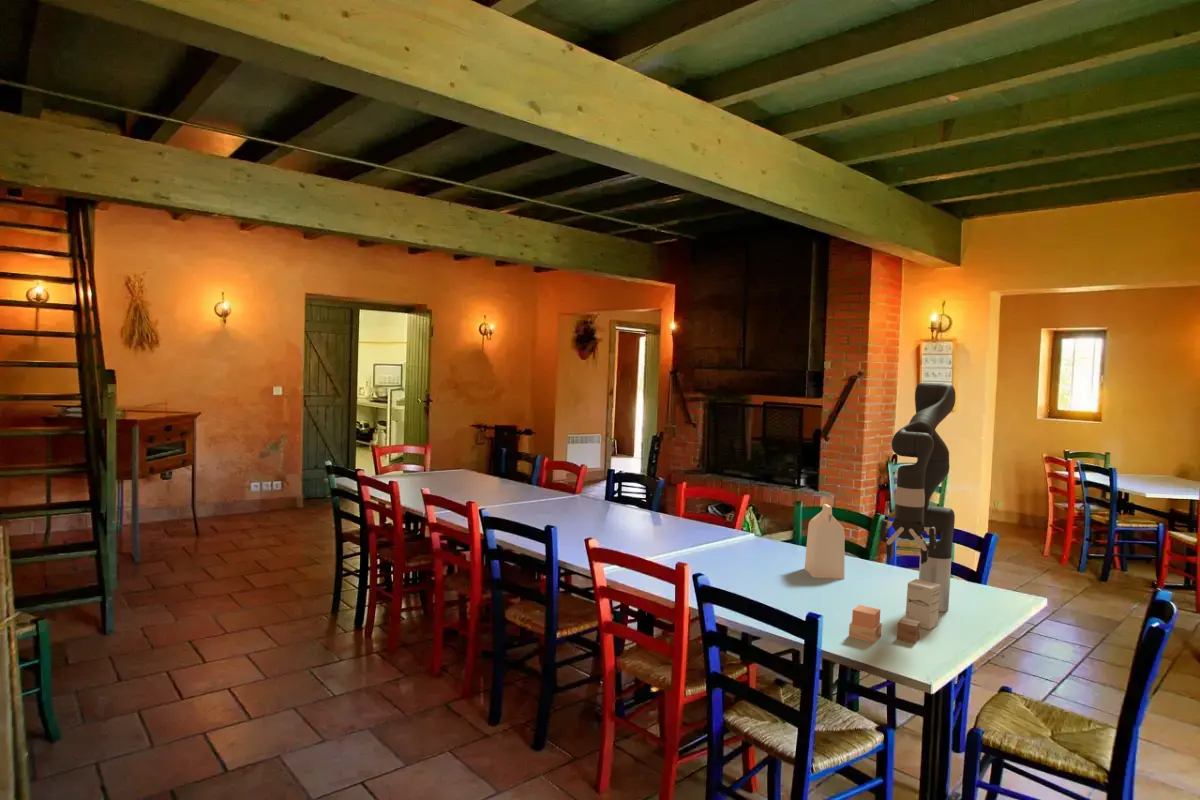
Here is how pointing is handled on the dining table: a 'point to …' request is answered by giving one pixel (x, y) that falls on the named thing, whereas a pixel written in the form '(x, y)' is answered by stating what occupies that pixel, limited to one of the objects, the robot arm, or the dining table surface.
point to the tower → (866, 616)
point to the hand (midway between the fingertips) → (906, 560)
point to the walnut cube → (908, 630)
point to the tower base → (865, 632)
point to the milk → (825, 546)
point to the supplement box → (923, 602)
